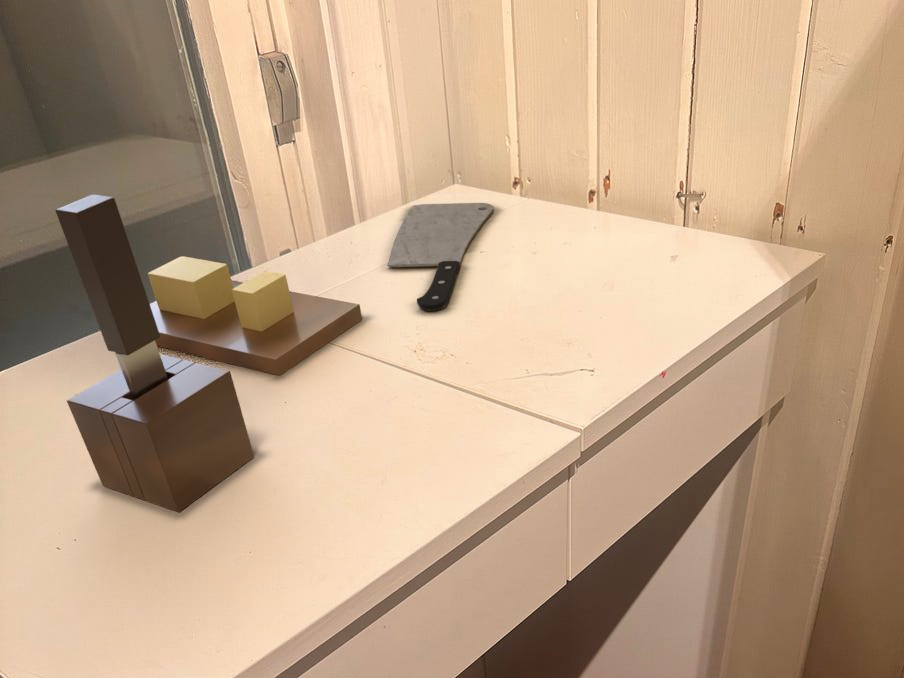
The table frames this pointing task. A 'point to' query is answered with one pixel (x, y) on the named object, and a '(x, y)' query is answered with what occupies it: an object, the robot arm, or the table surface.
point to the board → (258, 333)
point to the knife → (114, 288)
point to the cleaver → (437, 243)
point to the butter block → (192, 287)
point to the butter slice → (263, 300)
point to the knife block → (164, 433)
